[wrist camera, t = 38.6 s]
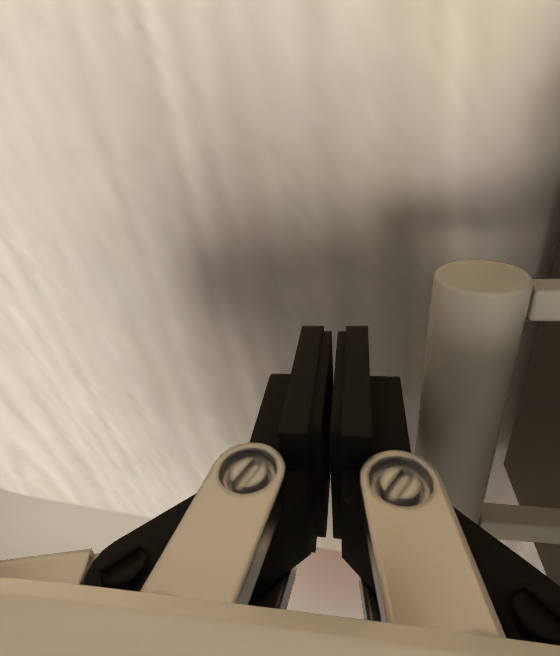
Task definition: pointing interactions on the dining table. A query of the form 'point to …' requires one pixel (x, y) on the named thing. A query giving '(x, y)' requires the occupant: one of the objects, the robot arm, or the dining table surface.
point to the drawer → (495, 397)
